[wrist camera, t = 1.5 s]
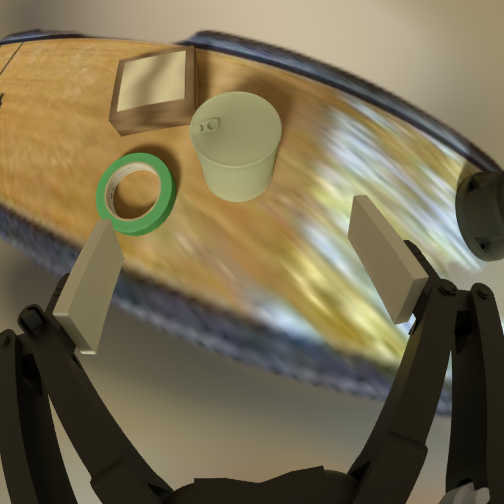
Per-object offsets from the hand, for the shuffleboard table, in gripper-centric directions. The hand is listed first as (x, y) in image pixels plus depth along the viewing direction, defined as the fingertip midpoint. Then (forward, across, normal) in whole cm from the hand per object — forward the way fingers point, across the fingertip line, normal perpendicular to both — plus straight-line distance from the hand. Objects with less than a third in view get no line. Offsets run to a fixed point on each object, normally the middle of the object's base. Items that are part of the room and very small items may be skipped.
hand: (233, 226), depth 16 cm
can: (+24, +1, -7) cm, 25 cm away
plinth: (+34, -10, +3) cm, 36 cm away
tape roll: (+23, -13, -9) cm, 28 cm away
